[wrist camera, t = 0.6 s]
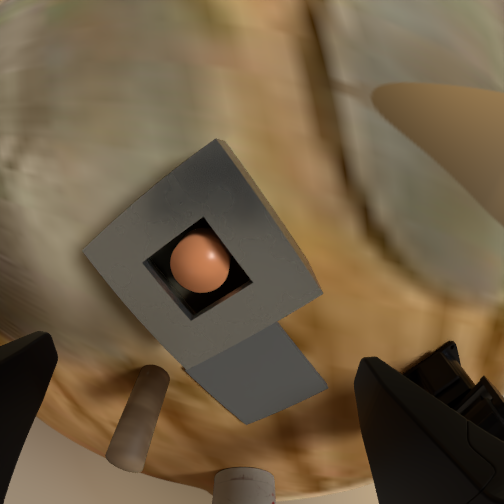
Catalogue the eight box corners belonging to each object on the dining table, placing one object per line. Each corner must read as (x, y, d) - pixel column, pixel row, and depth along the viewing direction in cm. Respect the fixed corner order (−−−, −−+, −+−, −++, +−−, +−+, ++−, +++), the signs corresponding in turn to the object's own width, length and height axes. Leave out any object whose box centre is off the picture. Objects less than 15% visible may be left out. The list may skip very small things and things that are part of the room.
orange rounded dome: (242, 260, 19) (241, 273, 17) (200, 288, 20) (194, 302, 18) (209, 217, 18) (204, 225, 16) (167, 247, 19) (158, 258, 17)
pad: (326, 383, 25) (328, 388, 25) (246, 420, 27) (246, 424, 26) (274, 318, 23) (274, 322, 22) (186, 366, 24) (184, 370, 24)
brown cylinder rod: (175, 380, 25) (150, 470, 16) (155, 390, 26) (127, 474, 16) (154, 360, 24) (120, 449, 15) (135, 371, 25) (98, 454, 15)
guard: (308, 261, 21) (323, 293, 16) (198, 328, 23) (186, 369, 18) (225, 141, 18) (215, 138, 14) (115, 228, 20) (82, 250, 16)
